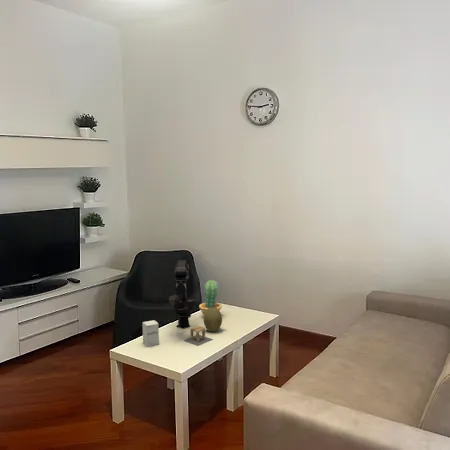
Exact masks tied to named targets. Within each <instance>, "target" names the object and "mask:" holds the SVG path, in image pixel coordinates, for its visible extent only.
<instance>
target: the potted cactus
mask: <svg viewBox="0 0 450 450" xmlns="http://www.w3.org/2000/svg"><path fill="white" fill-rule="evenodd" d="M203 290H204V295H205V302H203V303H200V304H199V307H198V308H199V310H200V311H201V314H202V315H203V316H204V315H205V312H206V310H207V309H208V308H210V307H216V308H217V309H218V310H219V311H220V312H221V310H222V306H223V305H222V304H221V303H219V302H216V299H217V296H218V293H219V290H220V284H219V283H218V282H217V281H216V280H213V279H209V280H207V282H206V283H204V289H203Z"/></svg>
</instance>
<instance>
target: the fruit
mask: <svg viewBox="0 0 450 450" xmlns="http://www.w3.org/2000/svg"><path fill="white" fill-rule="evenodd" d="M222 316H223V315H222V313H221V310H220V311H219V310H218V309H217V308H216V307H210V308H208V309H207V310H206V312H205V315H203V324H204V328H205V330H207V331H209V332H217V331H218V330H219V329H221V326H222V324H223V317H222Z"/></svg>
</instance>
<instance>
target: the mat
mask: <svg viewBox="0 0 450 450" xmlns="http://www.w3.org/2000/svg"><path fill="white" fill-rule="evenodd" d="M193 336H194V340H191V336H189V337H187V338H184V339H183V342H186V343H190V344H192V345H195V346H197V347H198V346H200V345H203V344H205V343H208V342H211V341H212V340H214V339H213V338H210V337H207V336H205V340H202V334H199V342H196V334H195V335H193Z"/></svg>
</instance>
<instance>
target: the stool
mask: <svg viewBox="0 0 450 450" xmlns="http://www.w3.org/2000/svg"><path fill="white" fill-rule="evenodd" d="M189 330H190V331H189V332H190V337H191V340H194V336H195V335H196V342H199V335H200V333H201V336H202V340H205V337H206V327H205V326H199V325H196V326H193V327H190V328H189ZM194 333H196V334H195V335H194Z"/></svg>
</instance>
